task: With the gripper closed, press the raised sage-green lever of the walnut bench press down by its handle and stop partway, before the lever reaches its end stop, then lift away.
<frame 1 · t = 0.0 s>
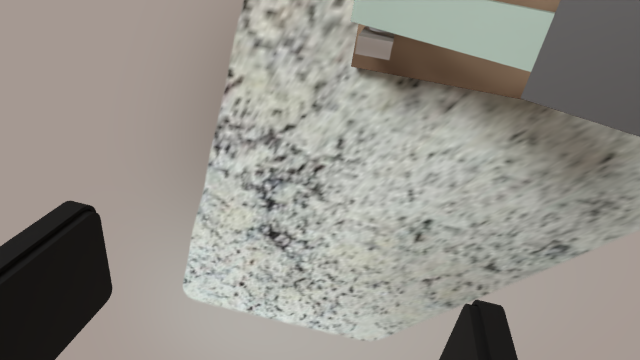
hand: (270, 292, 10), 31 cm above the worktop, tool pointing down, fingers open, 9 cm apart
press lever: (485, 28, 23), point 12 cm above the worktop, hinge at 32.0°
press base: (470, 10, 34), on the worktop
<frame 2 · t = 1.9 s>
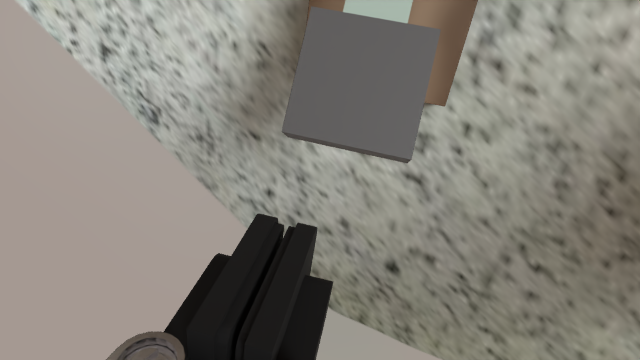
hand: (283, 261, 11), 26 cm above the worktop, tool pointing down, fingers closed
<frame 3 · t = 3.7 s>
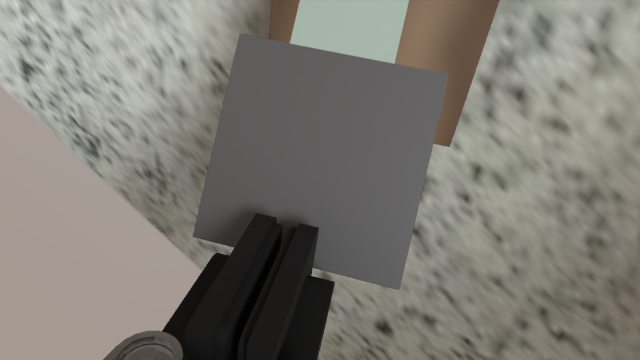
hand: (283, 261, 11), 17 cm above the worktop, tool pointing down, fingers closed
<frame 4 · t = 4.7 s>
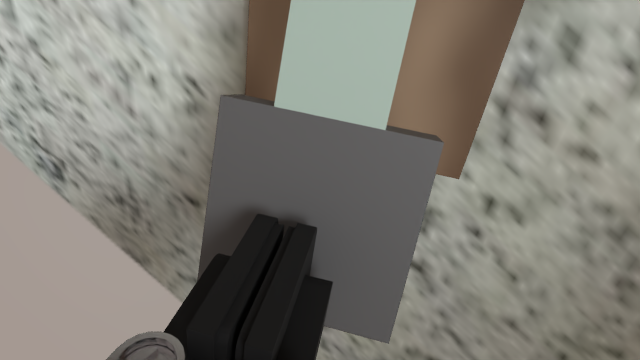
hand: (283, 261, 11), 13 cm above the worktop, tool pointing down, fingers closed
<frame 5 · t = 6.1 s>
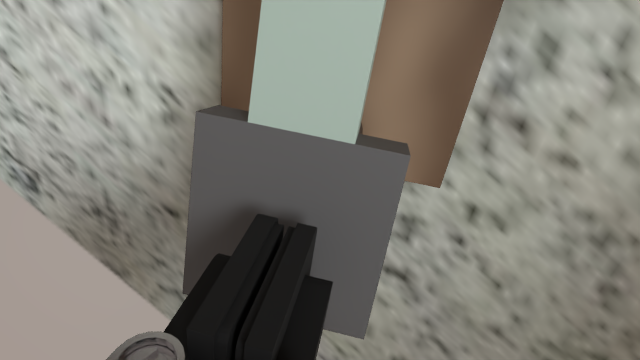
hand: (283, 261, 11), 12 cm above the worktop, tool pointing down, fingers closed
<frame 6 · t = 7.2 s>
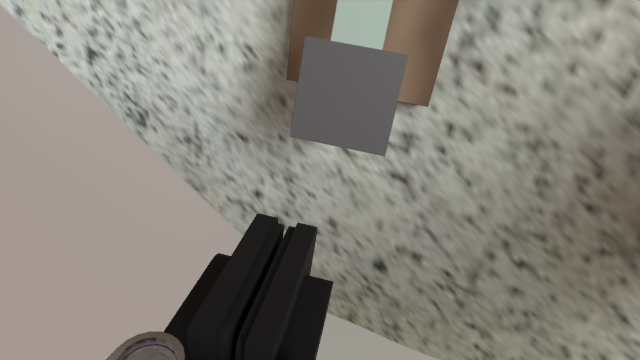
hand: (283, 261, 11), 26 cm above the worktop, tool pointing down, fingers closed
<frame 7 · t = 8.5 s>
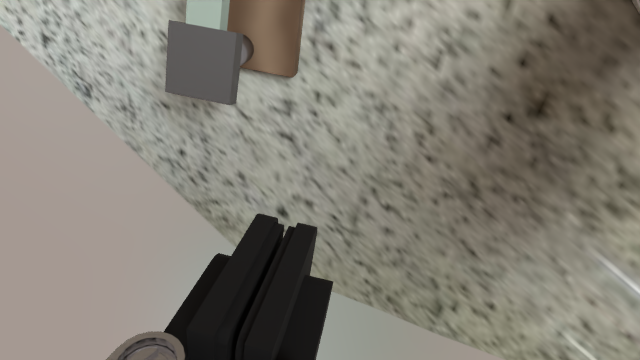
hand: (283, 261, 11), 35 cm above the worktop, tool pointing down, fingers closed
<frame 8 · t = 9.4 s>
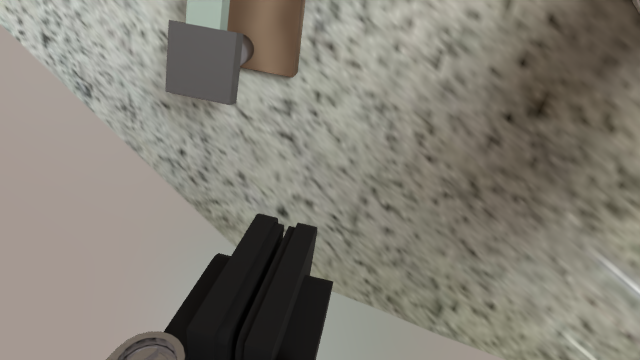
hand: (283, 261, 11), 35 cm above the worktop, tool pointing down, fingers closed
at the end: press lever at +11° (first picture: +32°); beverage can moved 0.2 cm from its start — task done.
